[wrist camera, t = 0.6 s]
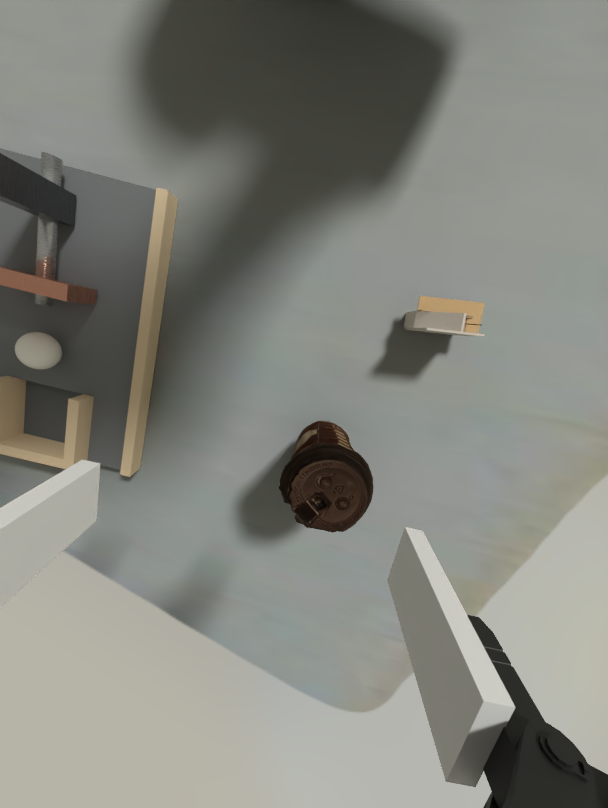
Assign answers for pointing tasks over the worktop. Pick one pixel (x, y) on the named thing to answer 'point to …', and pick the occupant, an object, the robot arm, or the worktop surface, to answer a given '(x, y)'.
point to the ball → (38, 350)
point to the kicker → (41, 228)
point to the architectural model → (445, 316)
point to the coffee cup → (326, 479)
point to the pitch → (86, 324)
